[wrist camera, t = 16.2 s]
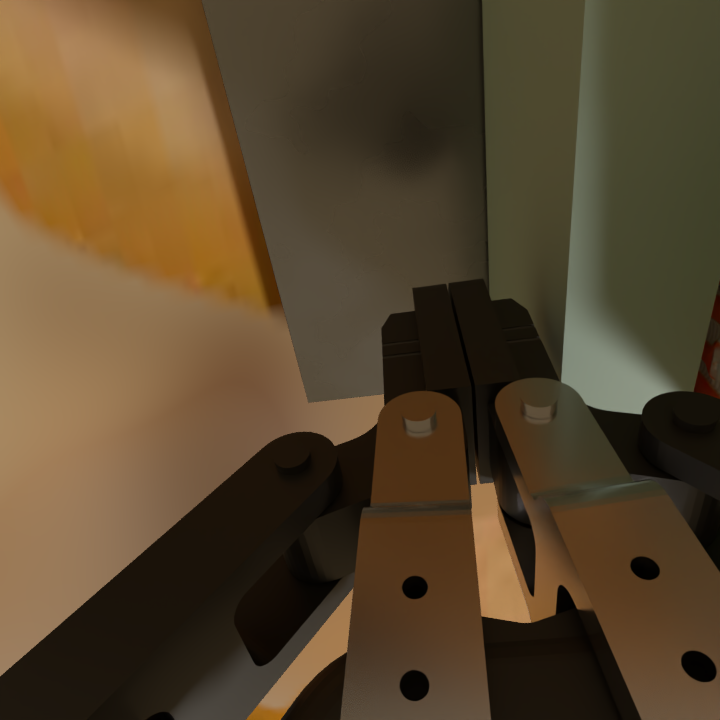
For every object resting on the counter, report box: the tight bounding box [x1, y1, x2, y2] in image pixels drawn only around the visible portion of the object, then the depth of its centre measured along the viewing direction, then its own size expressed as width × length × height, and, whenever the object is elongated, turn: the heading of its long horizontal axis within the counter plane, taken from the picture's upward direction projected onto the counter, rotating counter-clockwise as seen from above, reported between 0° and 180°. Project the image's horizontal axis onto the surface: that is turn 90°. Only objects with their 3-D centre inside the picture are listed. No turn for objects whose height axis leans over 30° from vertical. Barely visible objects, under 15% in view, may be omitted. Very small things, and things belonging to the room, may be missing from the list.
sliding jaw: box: [482, 0, 720, 414], centre depth 14 cm, size 2×12×8 cm, turn 9°
